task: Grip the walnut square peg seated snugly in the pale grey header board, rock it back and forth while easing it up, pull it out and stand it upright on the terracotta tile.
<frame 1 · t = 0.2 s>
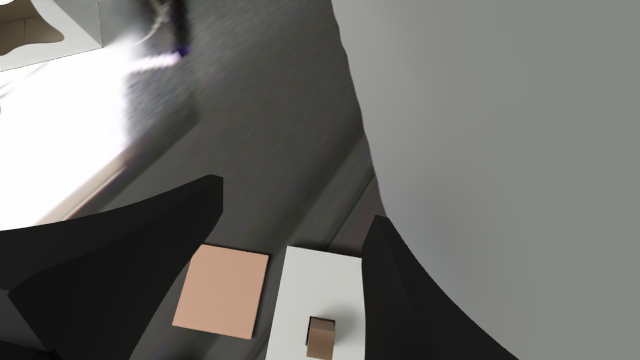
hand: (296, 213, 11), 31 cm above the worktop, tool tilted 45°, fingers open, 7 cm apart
gable box: (49, 37, 52), on the worktop
header board: (320, 327, 37), on the worktop
walnut peg: (320, 327, 37), resting in header board
terracotta tile: (223, 288, 39), on the worktop
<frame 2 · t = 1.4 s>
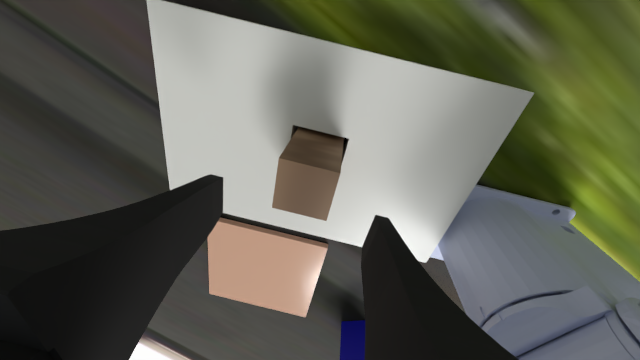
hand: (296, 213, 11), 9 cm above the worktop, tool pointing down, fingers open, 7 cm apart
cable clip: (368, 344, 33), on the worktop
header board: (319, 144, 19), on the worktop
walnut peg: (319, 144, 19), resting in header board
terracotta tile: (263, 269, 27), on the worktop
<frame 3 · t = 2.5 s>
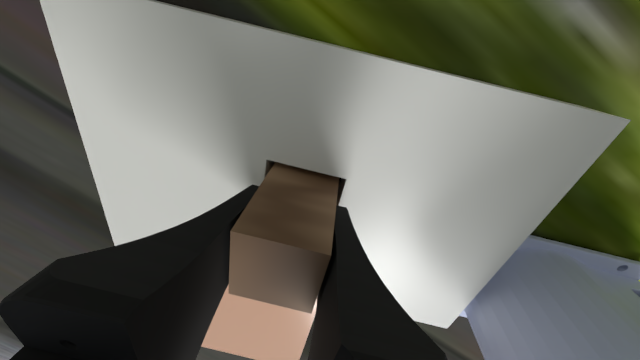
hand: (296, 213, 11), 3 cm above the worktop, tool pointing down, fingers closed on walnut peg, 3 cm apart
header board: (307, 177, 14), on the worktop
walnut peg: (307, 177, 14), resting in header board, touching gripper
terracotta tile: (244, 317, 22), on the worktop
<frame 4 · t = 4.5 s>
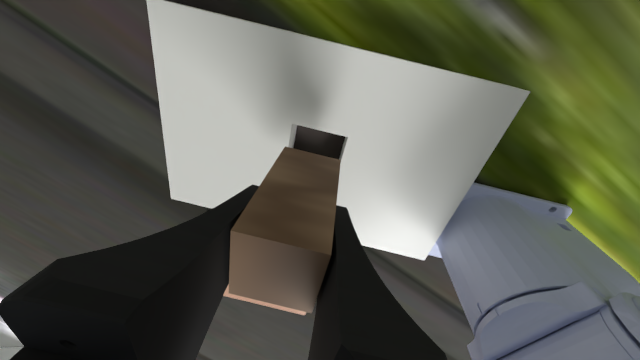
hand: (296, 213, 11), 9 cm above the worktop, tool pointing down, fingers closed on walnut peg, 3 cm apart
header board: (318, 143, 19), on the worktop
walnut peg: (307, 177, 14), point 6 cm above the worktop, touching gripper
terracotta tile: (263, 267, 27), on the worktop
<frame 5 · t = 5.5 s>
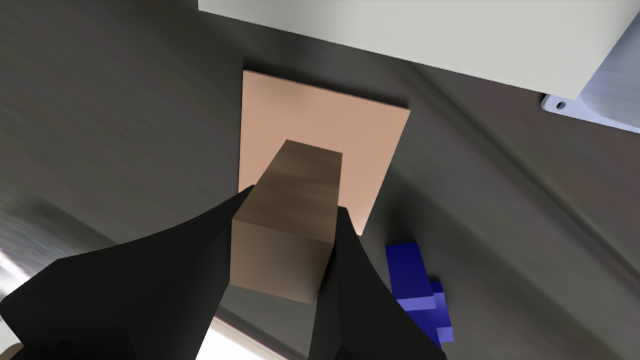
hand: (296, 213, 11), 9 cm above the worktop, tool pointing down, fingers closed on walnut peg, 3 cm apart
cable clip: (416, 280, 27), on the worktop
gable box: (47, 340, 46), on the worktop
walnut peg: (309, 170, 14), point 6 cm above the worktop, touching gripper
terracotta tile: (312, 162, 21), on the worktop
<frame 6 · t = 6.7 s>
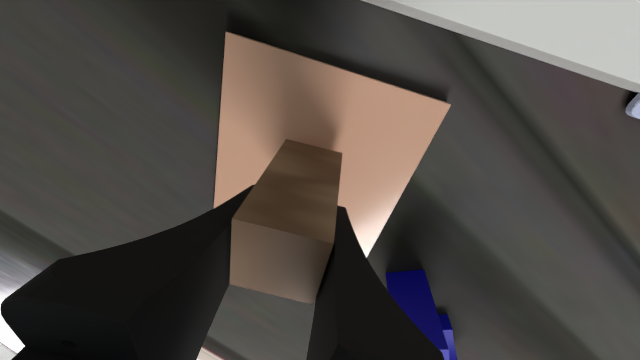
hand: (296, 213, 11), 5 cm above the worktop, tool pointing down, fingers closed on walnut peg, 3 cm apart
cable clip: (419, 311, 23), on the worktop
walnut peg: (309, 170, 14), point 2 cm above the worktop, touching gripper
terracotta tile: (312, 164, 16), on the worktop
when the fingers open (5 cm above the worktop, at t = 6.8 s): walnut peg drops 1 cm, resting on terracotta tile.
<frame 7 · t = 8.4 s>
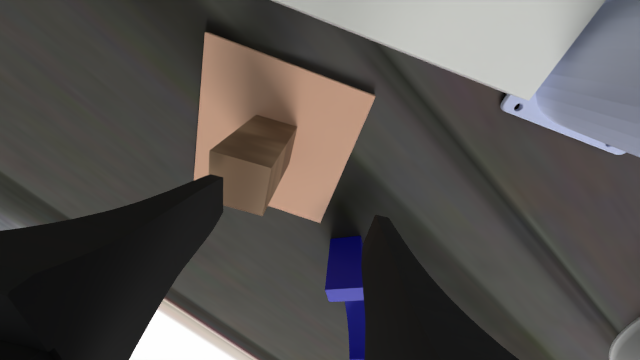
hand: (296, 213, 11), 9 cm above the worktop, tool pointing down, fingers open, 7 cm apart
cable clip: (362, 275, 27), on the worktop
walnut peg: (273, 140, 19), point 1 cm above the worktop, touching terracotta tile
terracotta tile: (274, 141, 20), on the worktop
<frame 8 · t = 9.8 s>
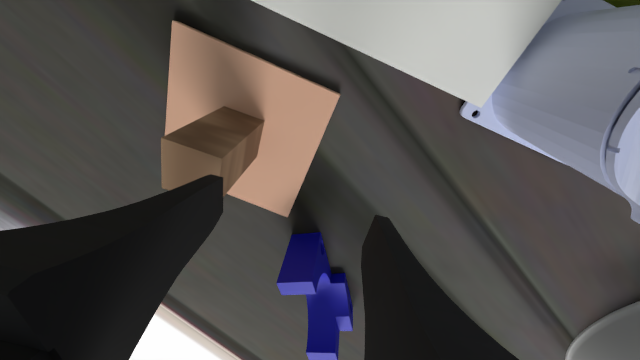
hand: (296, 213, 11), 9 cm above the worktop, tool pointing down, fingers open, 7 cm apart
cable clip: (325, 271, 28), on the worktop
walnut peg: (241, 132, 19), point 1 cm above the worktop, touching terracotta tile
terracotta tile: (243, 134, 20), on the worktop
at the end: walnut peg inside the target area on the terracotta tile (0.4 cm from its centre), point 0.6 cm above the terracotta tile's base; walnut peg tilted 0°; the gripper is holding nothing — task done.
